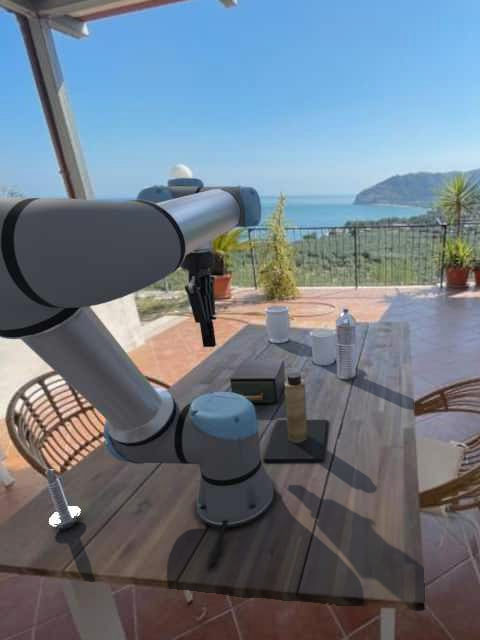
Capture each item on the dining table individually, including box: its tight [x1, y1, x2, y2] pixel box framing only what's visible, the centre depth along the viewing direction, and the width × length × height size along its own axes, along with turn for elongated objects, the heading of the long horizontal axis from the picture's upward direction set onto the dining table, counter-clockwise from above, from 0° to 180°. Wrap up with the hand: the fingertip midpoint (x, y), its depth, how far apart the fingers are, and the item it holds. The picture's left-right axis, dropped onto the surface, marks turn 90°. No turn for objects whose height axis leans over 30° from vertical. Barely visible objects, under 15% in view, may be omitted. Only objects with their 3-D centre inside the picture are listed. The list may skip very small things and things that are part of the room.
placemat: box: [263, 419, 328, 463], centre depth 102 cm, size 18×14×1 cm
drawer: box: [230, 381, 275, 404], centre depth 123 cm, size 19×12×7 cm, turn 1°
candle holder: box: [309, 328, 336, 366], centre depth 150 cm, size 10×10×12 cm
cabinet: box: [229, 358, 286, 404], centre depth 126 cm, size 16×14×9 cm
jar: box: [264, 305, 291, 344], centre depth 173 cm, size 11×10×15 cm
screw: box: [44, 468, 81, 530], centre depth 73 cm, size 13×5×5 cm
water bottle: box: [335, 307, 357, 381], centre depth 135 cm, size 7×7×25 cm
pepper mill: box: [283, 372, 308, 443], centre depth 99 cm, size 5×5×18 cm
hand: (209, 345), depth 99 cm, fingers closed
